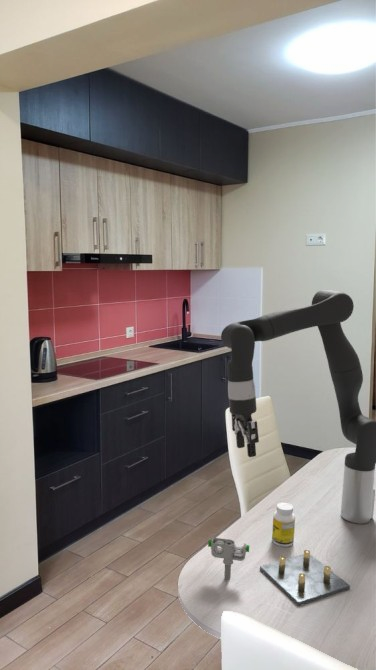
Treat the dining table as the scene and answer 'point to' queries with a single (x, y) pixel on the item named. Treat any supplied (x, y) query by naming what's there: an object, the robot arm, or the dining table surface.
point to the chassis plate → (310, 580)
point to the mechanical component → (227, 553)
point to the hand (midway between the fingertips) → (246, 451)
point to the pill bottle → (283, 525)
